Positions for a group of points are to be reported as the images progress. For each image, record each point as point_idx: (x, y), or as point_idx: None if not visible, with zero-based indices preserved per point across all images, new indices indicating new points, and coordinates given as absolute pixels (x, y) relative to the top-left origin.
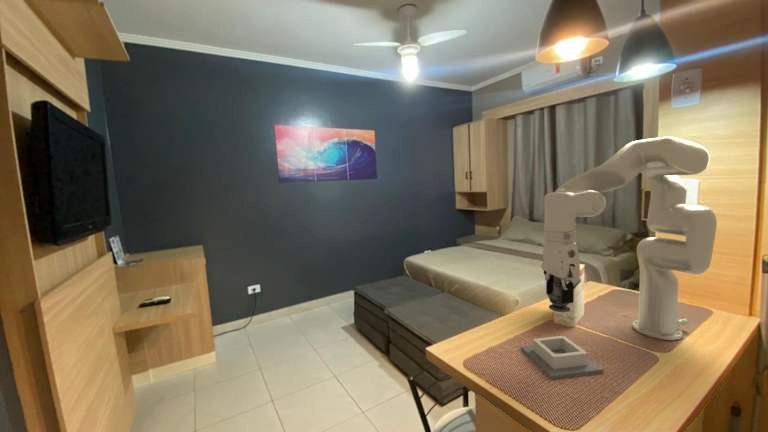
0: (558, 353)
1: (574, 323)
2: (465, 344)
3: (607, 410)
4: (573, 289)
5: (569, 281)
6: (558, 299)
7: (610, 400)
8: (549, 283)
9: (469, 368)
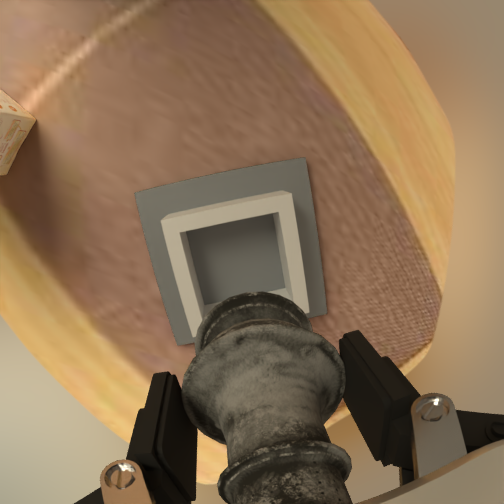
0: (215, 250)
1: (28, 118)
2: None
3: (423, 234)
4: (405, 389)
5: (417, 469)
6: (328, 416)
7: (401, 209)
8: (190, 490)
9: None
